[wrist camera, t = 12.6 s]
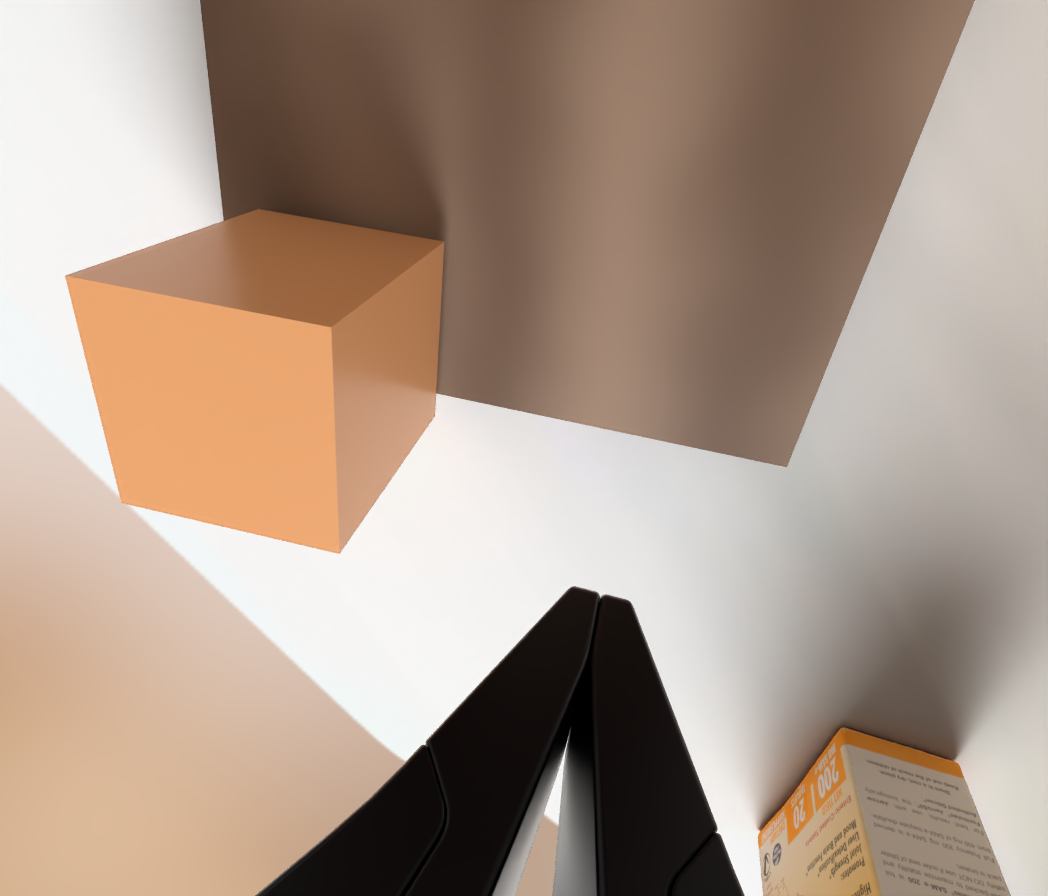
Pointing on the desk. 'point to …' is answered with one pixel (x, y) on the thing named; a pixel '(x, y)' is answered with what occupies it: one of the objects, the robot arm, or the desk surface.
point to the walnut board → (599, 182)
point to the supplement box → (878, 827)
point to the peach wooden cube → (264, 370)
